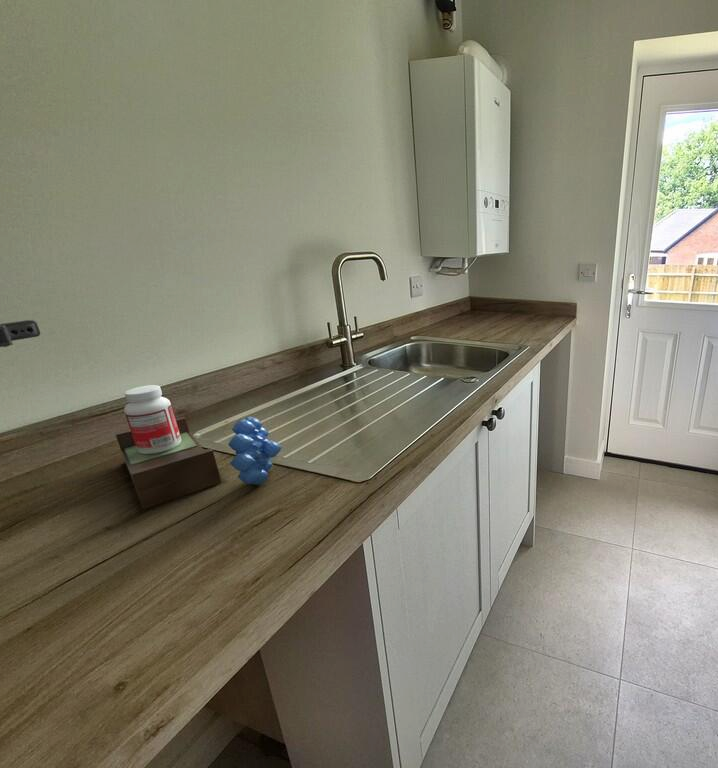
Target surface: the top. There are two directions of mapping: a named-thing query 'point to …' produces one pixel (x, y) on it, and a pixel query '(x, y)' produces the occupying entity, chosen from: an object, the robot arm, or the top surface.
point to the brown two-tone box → (169, 468)
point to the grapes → (252, 450)
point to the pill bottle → (151, 420)
